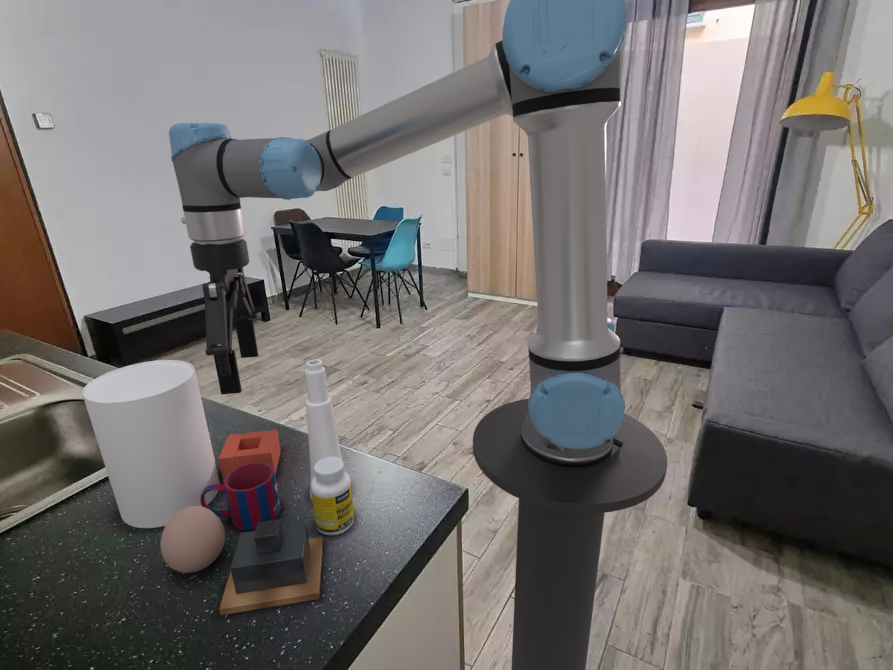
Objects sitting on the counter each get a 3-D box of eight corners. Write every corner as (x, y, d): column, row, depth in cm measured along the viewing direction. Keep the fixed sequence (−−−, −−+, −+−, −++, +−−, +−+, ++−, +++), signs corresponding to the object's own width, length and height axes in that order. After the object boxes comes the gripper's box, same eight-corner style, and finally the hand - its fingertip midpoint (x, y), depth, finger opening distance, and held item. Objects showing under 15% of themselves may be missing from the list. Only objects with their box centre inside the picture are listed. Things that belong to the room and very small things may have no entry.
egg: (155, 573, 61) (139, 520, 58) (206, 535, 67) (193, 486, 64) (192, 596, 58) (177, 541, 55) (241, 554, 64) (230, 502, 61)
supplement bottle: (342, 540, 66) (335, 480, 62) (308, 531, 67) (299, 472, 64) (361, 514, 70) (356, 457, 67) (329, 506, 72) (321, 450, 69)
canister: (97, 523, 70) (55, 399, 62) (163, 466, 82) (134, 357, 75) (182, 532, 67) (149, 405, 60) (236, 473, 80) (214, 362, 73)
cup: (278, 527, 68) (271, 487, 66) (202, 538, 66) (191, 498, 64) (283, 496, 74) (276, 458, 72) (213, 506, 72) (204, 468, 70)
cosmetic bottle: (357, 490, 75) (344, 361, 67) (325, 511, 71) (307, 375, 63) (334, 474, 79) (319, 350, 71) (302, 493, 75) (282, 363, 67)
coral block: (280, 451, 86) (277, 429, 84) (275, 475, 79) (271, 452, 77) (233, 457, 84) (228, 434, 83) (223, 482, 78) (218, 458, 76)
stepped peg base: (323, 542, 65) (317, 497, 63) (319, 599, 57) (312, 549, 54) (237, 555, 63) (227, 509, 61) (220, 615, 55) (207, 565, 53)
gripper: (213, 228, 81) (234, 346, 88) (157, 258, 58) (192, 414, 65) (260, 226, 82) (277, 343, 90) (224, 255, 59) (250, 409, 67)
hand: (241, 373), depth 77 cm, fingers open, 13 cm apart
